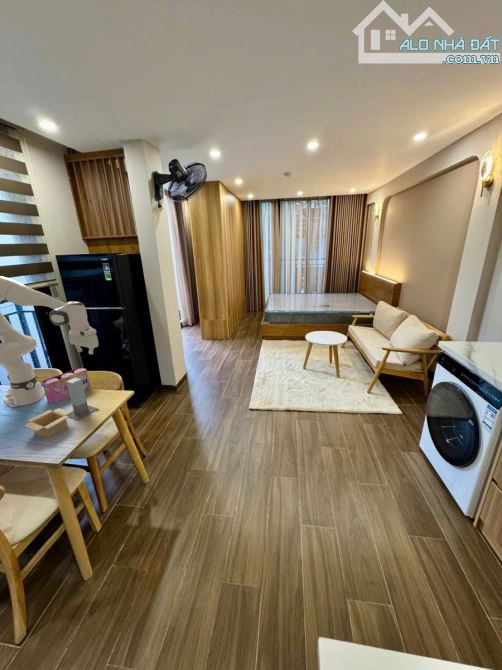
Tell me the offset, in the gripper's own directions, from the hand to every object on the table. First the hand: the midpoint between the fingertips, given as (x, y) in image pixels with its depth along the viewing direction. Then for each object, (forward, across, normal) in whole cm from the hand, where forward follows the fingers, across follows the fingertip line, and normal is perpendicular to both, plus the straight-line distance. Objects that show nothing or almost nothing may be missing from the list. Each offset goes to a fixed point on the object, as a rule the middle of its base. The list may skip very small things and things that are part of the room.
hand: (85, 352), depth 149 cm
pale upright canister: (+30, +6, -13) cm, 34 cm away
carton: (+31, +6, -29) cm, 43 cm away
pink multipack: (+31, -21, -2) cm, 38 cm away
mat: (+31, +6, -13) cm, 34 cm away
